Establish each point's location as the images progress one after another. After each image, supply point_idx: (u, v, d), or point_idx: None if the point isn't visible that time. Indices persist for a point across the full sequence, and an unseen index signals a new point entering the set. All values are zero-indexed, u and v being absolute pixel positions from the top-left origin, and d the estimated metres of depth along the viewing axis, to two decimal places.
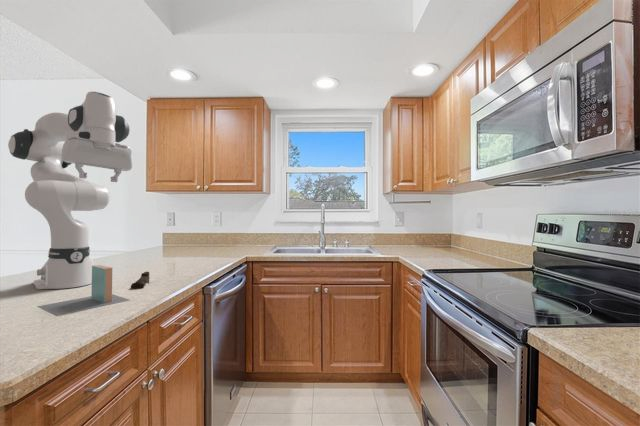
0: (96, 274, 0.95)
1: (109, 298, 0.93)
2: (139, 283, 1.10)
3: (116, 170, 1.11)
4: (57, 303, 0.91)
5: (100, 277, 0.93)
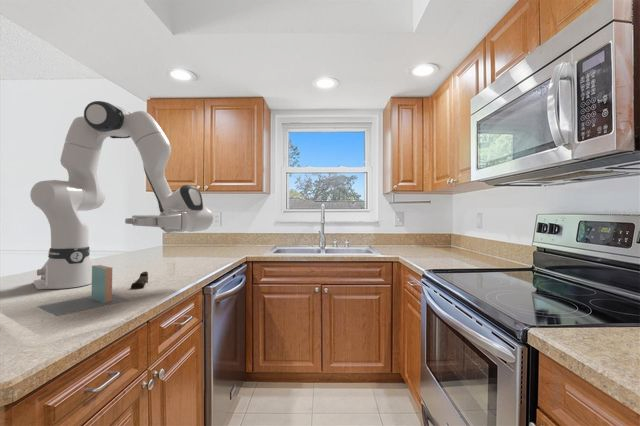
0: (96, 274, 0.95)
1: (109, 298, 0.93)
2: (139, 283, 1.10)
3: None
4: (57, 303, 0.91)
5: (100, 277, 0.93)
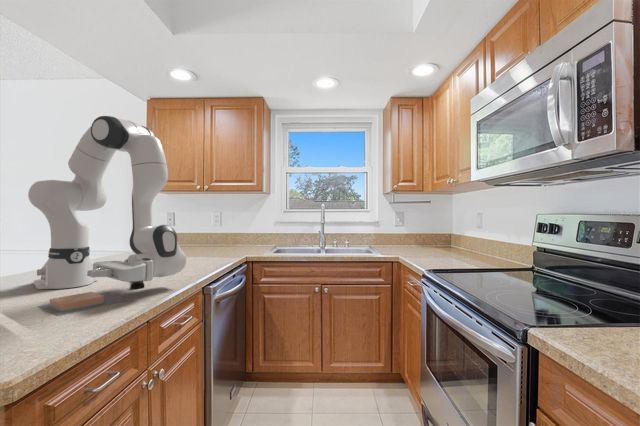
0: None
1: (99, 298, 0.91)
2: (140, 283, 1.10)
3: None
4: None
5: None
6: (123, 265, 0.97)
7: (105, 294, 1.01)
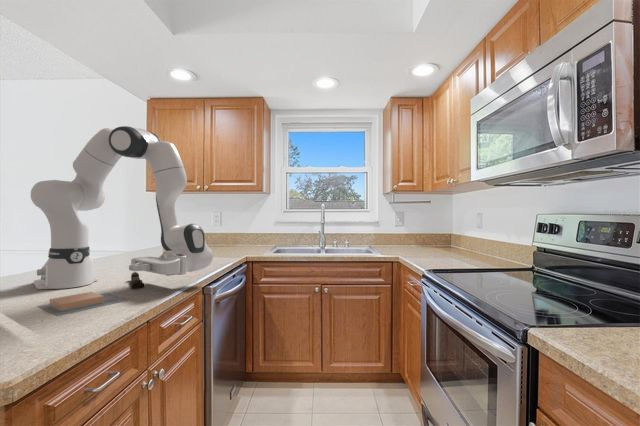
0: None
1: (99, 298, 0.91)
2: (140, 283, 1.10)
3: None
4: None
5: None
6: (160, 260, 1.07)
7: (105, 294, 1.01)
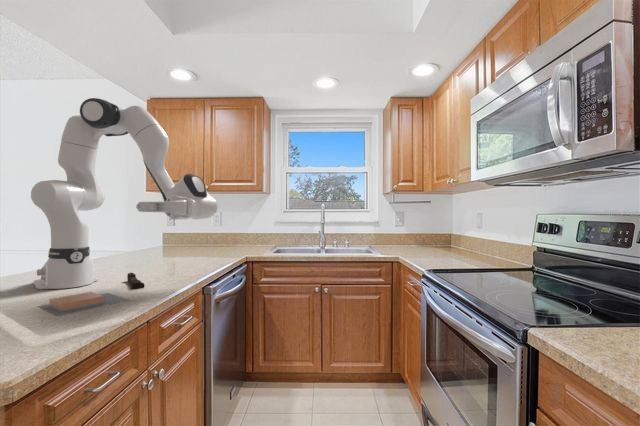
0: None
1: (99, 298, 0.91)
2: (140, 283, 1.10)
3: None
4: None
5: None
6: None
7: (105, 294, 1.01)
